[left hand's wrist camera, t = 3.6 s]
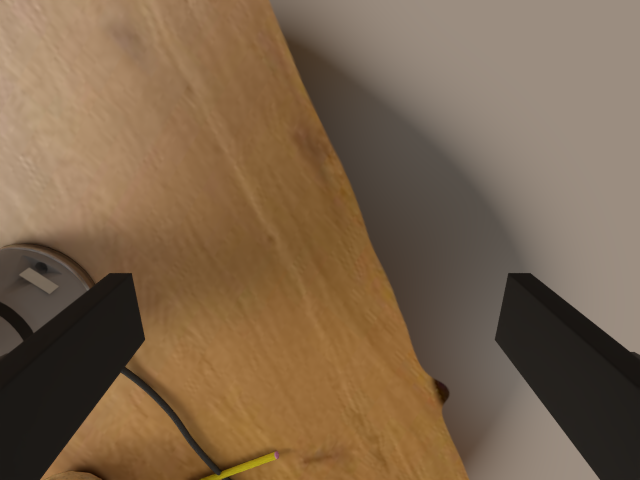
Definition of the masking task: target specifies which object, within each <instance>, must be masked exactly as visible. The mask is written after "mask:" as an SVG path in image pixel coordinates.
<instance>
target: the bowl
mask: <svg viewBox="0 0 640 480" xmlns="http://www.w3.org/2000/svg"><path fill="white" fill-rule="evenodd" d="M45 480H102V479H100V478H98V477H97V476H95V475H93V474H91V473H85V472H75V471H68V472H63V473H60V474H57V475H54V476H51V477H49V478H47V479H45Z"/></svg>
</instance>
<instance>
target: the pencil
mask: <svg viewBox="0 0 640 480" xmlns="http://www.w3.org/2000/svg"><path fill="white" fill-rule="evenodd" d="M278 458H279V454H278V452H277V451H276V452H273V453H270V454H267V455H265V456H262V457H259V458H256V459H254V460H251V461H248V462H245V463H243V464H240V465H237V466H235V467H232V468H229V469H226V470H224V471H222V472H221V474H220V475H219V476H218V475H217V474H216V473H215V474H213V475H210V476H207V477H205V478H202V479H199V480H220V479H223V478H225V477H228V476H231V475H234V474H236V473H239V472H242V471H245V470H248V469H250V468H253V467H256V466H259V465H261V464H264V463H267V462H270V461H272V460H275V459H278Z"/></svg>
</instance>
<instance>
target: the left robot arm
mask: <svg viewBox="0 0 640 480" xmlns="http://www.w3.org/2000/svg"><path fill="white" fill-rule="evenodd" d="M144 341H145V337H144V332H143V327H142V322H141V317H140V312H139V307H138V302H137V297H136V292H135V287H134V283H133V278H132V273H109V274H108V275H107V276H105V277H104V278H103V279H102V280H100V281H99V282H98V283H97V284H94V282H93V281H92V279H91V278H90V276H89V275H88V274H87V273H86V272H85V271H84V270H83V269H82V268H81V267H80V266H79V265H78V264H77V263H75V262H74V261H73V260H71V259H70V258H68V257H67V256H65V255H63V254H61V253H60V252H57V251H55V250H53V249H50V248H47V247H43V246H40V245H34V244H14V245H9V246H5V247H3V248H0V480H40V479H41V478H42V476H43V475H44V474H45V472H46V471H47V470H48V468H49V467H50V466H51V464H52V463H53V462H54V460H55V459H56V458H57V456H58V455H59V454H60V452H61V451H62V450H63V448H64V447H65V446H66V444H67V443H68V442H69V440H70V439H71V438H72V436H73V435H74V434H75V432H76V431H77V430H78V428H79V427H80V426H81V424H82V423H83V422H84V420H85V419H86V418H87V416H88V415H89V414H90V412H91V411H92V410H93V408H94V407H95V406H96V404H97V403H98V402H99V400H100V399H101V398H102V396H103V395H104V394H105V392H106V391H107V390H108V388H109V387H110V386H111V384H112V383H113V382H114V380H115V379H116V378H117V376H118V375H119V374H120V372H121V373H122V374H124V375H125V376H127V377H128V378H129V379H131V380H132V381H133V382H135V383H136V384H137V385H138V386H140V387H141V388H142V389H143V390H144V391H145V392H147V393H148V394H149V395H150V396H151V397H152V398H153V399H154V400H155V401H156V402H157V403H158V404H159V405H160V406H161V407H162V408H163V409H164V411H165V412H166V413H167V414H168V415H169V416H170V417H171V419H172V420H173V421H174V423H175V424H176V425H177V427H178V428H179V430H180V431H181V433H182V434H183V436H184V437H185V439H186V440H187V442H188V443H189V444H190V445H191V447H192V448H193V449H194V450H195V452H196V453H197V454H198V455H199V456H200V457H201V459H202V460H203V461H204V462H205V463H206V464H207V465H208V466H209V467H210V468H211V469H212V470H213V471H214V472H215V473H216V474H217V475H218V476H219V475H220V474H221V472H222V471H221V470H220V469H219V468H218V467H217V466H216V465H215V464H214V463H213V462H212V461H211V460H210V458H209V457H208V456H207V455H206V454H205V453H204V452H203V450H202V449H201V448H200V447H199V446H198V444H197V443H196V442H195V441H194V439H193V438H192V437H191V435H190V434H189V432H188V431H187V429H186V428H185V426H184V425H183V423H182V422H181V420H180V419H179V418H178V416H177V415H176V414H175V412H174V411H173V410H172V409H171V408H170V407H169V405H168V404H167V403H166V402H165V401H164V400H163V399H162V398H161V397H160V396H159V395H158V394H157V393H156V392H155V391H154V390H153V389H152V388H151V387H150V386H149V385H147V384H146V383H145V382H144V381H143V380H142V379H140V378H139V377H138V376H136V375H135V374H134V373H132V372H131V371H130V370H128V369H127V368H125V366H126V364H127V363H128V362H129V360H130V359H131V358H132V356H133V355H134V354H135V353H136V351H137V350H138V349H139V347H140V346H141V345H142V343H143V342H144ZM495 341H496V342H497V343H498V345H499V346H500V347H501V349H502V350H503V351H504V353H505V354H506V355H507V356H508V358H509V359H510V360H511V362H512V363H513V364H514V366H515V367H516V368H517V370H518V371H519V372H520V374H521V375H522V376H523V378H524V379H525V380H526V382H527V383H528V384H529V386H530V387H531V388H532V390H533V391H534V392H535V394H536V395H537V396H538V398H539V399H540V400H541V402H542V403H543V404H544V406H545V407H546V408H547V410H548V411H549V412H550V414H551V415H552V416H553V418H554V419H555V420H556V422H557V423H558V424H559V426H560V427H561V428H562V430H563V431H564V432H565V434H566V435H567V436H568V438H569V439H570V440H571V442H572V443H573V444H574V446H575V447H576V448H577V450H578V451H579V452H580V453H581V455H582V456H583V458H584V459H585V460H586V462H587V463H588V464H589V466H590V467H591V468H592V470H593V471H594V472H595V474H596V475H597V476H598V477H599V479H600V480H640V355H639V354H637V353H635V352H629V351H628V350H627V349H626V348H624V347H623V346H622V345H621V344H619V343H618V342H617V341H616V340H614V339H613V338H612V337H611V336H609V335H608V334H607V333H605V332H604V331H603V330H602V329H600V328H599V327H598V326H597V325H595V324H594V323H593V322H592V321H590V320H589V319H588V318H586V317H585V316H584V315H583V314H581V313H580V312H579V311H578V310H576V309H575V308H574V307H573V306H571V305H570V304H569V303H567V302H566V301H565V300H564V299H562V298H561V297H560V296H559V295H557V294H556V293H555V292H553V291H552V290H551V289H550V288H548V287H547V286H546V285H545V284H543V283H542V282H541V281H540V280H538V279H537V278H536V277H534V276H533V275H532V274H531V273H508V278H507V283H506V287H505V292H504V297H503V302H502V307H501V312H500V317H499V322H498V327H497V332H496V337H495ZM222 480H231V479H230V478H229V477H225V478H223V479H222Z"/></svg>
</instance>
